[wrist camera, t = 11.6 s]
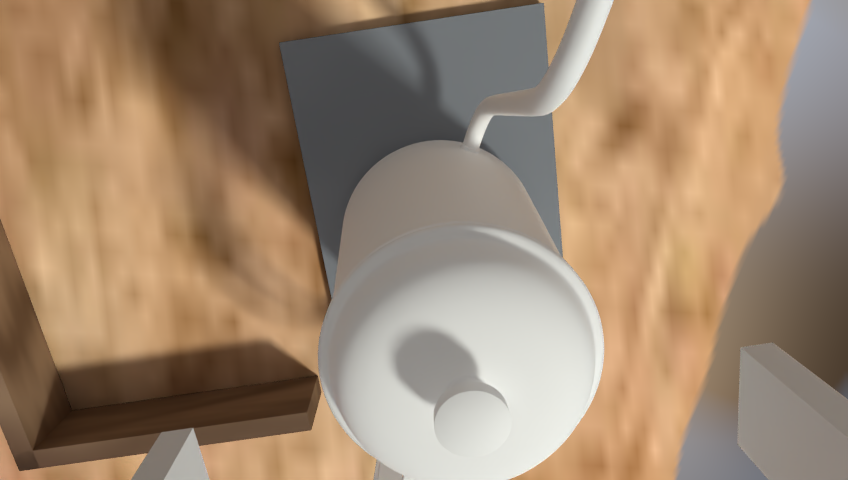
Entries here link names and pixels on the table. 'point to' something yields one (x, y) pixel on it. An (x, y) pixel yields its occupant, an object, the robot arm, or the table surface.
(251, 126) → the table surface
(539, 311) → the coffeepot
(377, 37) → the trivet
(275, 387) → the bracket
